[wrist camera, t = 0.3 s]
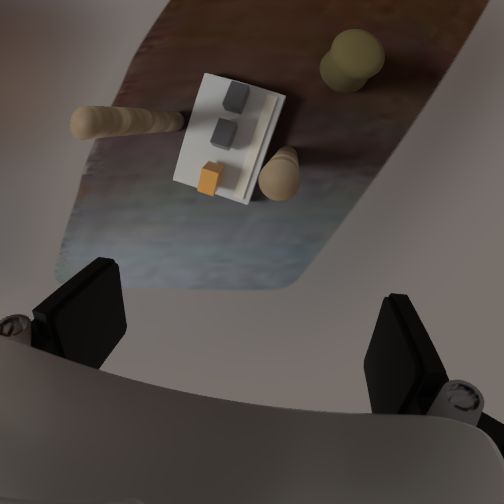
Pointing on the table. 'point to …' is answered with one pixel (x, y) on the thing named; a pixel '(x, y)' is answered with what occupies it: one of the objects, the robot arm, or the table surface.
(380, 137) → the table surface
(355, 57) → the cork
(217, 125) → the grey block
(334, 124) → the table surface
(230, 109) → the grey block
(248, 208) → the table surface
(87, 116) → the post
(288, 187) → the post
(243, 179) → the panel
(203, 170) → the orange block
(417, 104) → the table surface
